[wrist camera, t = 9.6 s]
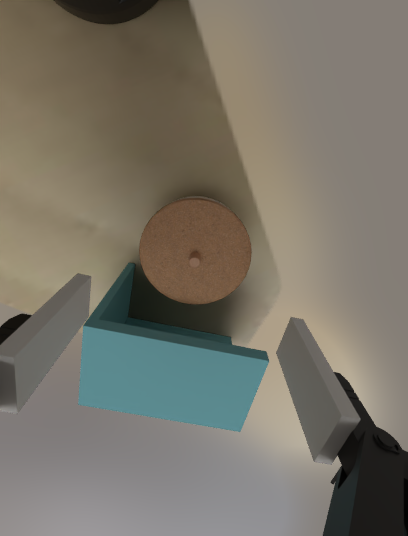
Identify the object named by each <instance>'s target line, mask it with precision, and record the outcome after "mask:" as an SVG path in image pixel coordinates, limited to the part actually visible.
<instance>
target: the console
mask: <svg viewBox="0 0 408 536" xmlns="http://www.w3.org/2000/svg"><path fill="white" fill-rule="evenodd" d="M134 269H135V264H133V263H128V265H127V266H126V267H125V269H124V270H123V271H122V273H121V274H120V276H119V277H118V278H117V280H116V281H115V283H114V284H113V285H112V287H111V288H110V289H109V291H108V292H107V294H106V295H105V296H104V298H103V299H102V301H101V302H100V303H99V305H98V306H97V308H96V309H95V310H94V312H93V313H92V314H91V316H90V317H89V319H88V320H87V321H86V323H85V324H84V326H83V340H82V355H81V372H80V387H79V405H83V406H89V407H95V408H101V409H107V410H113V411H119V412H125V413H131V414H137V415H143V416H149V417H155V418H161V419H166V420H173V421H178V422H184V423H190V424H197V425H202V426H208V427H214V428H221V429H226V430H233V431H238V432H240V431H241V429H242V426H243V424H244V421H245V419H246V417H247V414H248V411H249V409H250V407H251V404H252V402H253V399H254V397H255V395H256V392H257V390H258V387H259V385H260V382H261V380H262V377H263V375H264V372H265V370H266V368H267V365H268V363H269V359H268V356H267V352H266V351H261V350H256V349H250V348H245V347H240V346H235V345H232V341H231V337H227V336H222V335H216V334H211V333H206V332H201V331H196V330H191V329H186V328H180V327H175V326H170V325H165V324H160V323H155V322H150V321H144V320H139V319H134V318H129V317H128V312H129V305H130V298H131V291H132V283H133V276H134Z"/></svg>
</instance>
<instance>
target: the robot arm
mask: <svg viewBox="0 0 408 536" xmlns="http://www.w3.org/2000/svg"><path fill="white" fill-rule="evenodd" d="M54 1H55V2H56V3H57V4H58V5H60V6H61V7H62V8H64V9H65V10H67V11H68V12H70V13H72V14H73V15H75V16H77V17H80V18H82V19H85V20H88V21H91V22H95V23H102V24H114V23H121V22H125V21H128V20H131V19H133V18H135V17H137V16H139V15H141V14H143V13H144V12H146V11H147V10H148V9H149V8H151V7H152V6H153V5H154V4H155V3H156V2H157V1H158V0H54ZM90 288H91V276H88V275H83V274H77V275H75V276H74V277H73V278H72V279H71V280H70V281H69V282H68V283H67V284H66V285H65V286H64V287H62V288H61V289H60V290H59V291H58V292H57V293H56V294H55V295H54V296H53V297H52V298H51V299H49V300H48V301H47V302H46V303H45V304H44V305H43V306H42V307H41V308H40V309H39V310H38V311H37V312H35V313H34V314H33V315H27V314H19V315H17V316H15V317H13V318H11V319H9V320H8V321H6V322H5V323H4V324H3V325H2V326H1V327H0V411H4V412H10V413H16V414H18V413H19V411H20V410H21V408H22V407H23V406H24V404H25V403H26V402H27V400H28V399H29V398H30V396H31V395H32V393H33V392H34V391H35V389H36V388H37V387H38V385H39V384H40V382H41V381H42V380H43V378H44V377H45V376H46V374H47V373H48V371H49V370H50V369H51V367H52V366H53V365H54V363H55V362H56V360H57V359H58V357H59V356H60V355H61V354H62V352H63V351H64V349H65V348H66V347H67V345H68V344H69V343H70V341H71V340H72V339H73V337H74V336H75V334H76V333H77V332H78V330H79V329H80V328H81V326H82V325H83V323H84V322H85V321H86V319H87V318H88V317H89V302H90ZM276 354H277V356H278V359H279V362H280V365H281V368H282V371H283V374H284V377H285V379H286V382H287V385H288V388H289V391H290V394H291V397H292V400H293V403H294V406H295V408H296V411H297V414H298V417H299V420H300V423H301V426H302V429H303V431H304V434H305V437H306V440H307V443H308V446H309V449H310V452H311V454H312V457H313V460H314V462H318V463H325V464H332V463H333V461H334V460H335V458H336V457H337V455H338V457H339V459H340V462H341V464H342V466H341V467H340V469H339V470H338V472H337V473H336V475H335V476H334V478H333V479H332V481H331V483H332V484H334V483H335V486H334V490H333V495H332V499H331V503H330V507H329V512H328V516H327V520H326V524H325V528H324V532H323V536H408V452H406V451H404V450H402V448H401V447H400V445H399V443H398V442H397V441H396V440H395V439H394V438H393V437H392V436H391V435H390V434H388V433H387V432H386V431H384V430H382V429H380V428H378V427H376V425H375V424H374V422H373V421H372V419H371V417H370V416H369V414H368V413H367V411H366V409H365V408H364V406H363V404H362V403H361V401H359V398H358V397H357V395H356V393H354V390H353V388H352V387H351V385H350V383H349V382H348V381H347V380H346V379H345V378H344V377H343V376H342V375H341V374H340V373H336V372H333V370H332V369H331V367H330V365H329V363H328V362H327V360H326V358H325V357H324V355H323V353H322V351H321V350H320V348H319V346H318V344H317V343H316V341H315V339H314V337H313V336H312V334H311V332H310V331H309V329H308V327H307V325H306V324H305V322H304V320H303V319H298V318H293V317H291V318H290V321H289V323H288V326H287V328H286V330H285V333H284V335H283V338H282V340H281V343H280V345H279V347H278V350H277V352H276ZM335 481H336V482H335Z"/></svg>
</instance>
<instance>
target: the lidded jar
mask: <svg viewBox="0 0 408 536" xmlns="http://www.w3.org/2000/svg"><path fill="white" fill-rule="evenodd" d="M139 254H140V261H141V265H142V268H143V271H144V273H145V275H146V277H147V278H148V280H149V281H150V282H151V284H152V285H153V286H154V287H155V288H156V289H157V290H158V291H159V292H161V293H162V294H164V295H165V296H167V297H168V298H171V299H173V300H175V301H178V302H181V303H186V304H207V303H211V302H215V301H217V300H220V299H222V298H224V297H226V296H227V295H229V294H230V293H231V292H233V291H234V290H235V289H236V288H237V287H238V286H239V285H240V284H241V282H242V281H243V279H244V278H245V276H246V274H247V272H248V269H249V266H250V262H251V243H250V239H249V236H248V233H247V231H246V229H245V227H244V225H243V224H242V222H241V221H240V219H239V218H238V217H237V216H236V215H235V214H234V213H233V212H232V211H231V209H229V208H228V207H227V206H225V205H224V204H222V203H220V202H219V201H217V200H214V199H211V198H208V197H203V196H190V197H184V198H181V199H177V200H175V201H173V202H171V203H169V204H168V205H166V206H164V207H163V208H162V209H160V210H159V211H158V212H157V213H156V214H155V215H154V216H153V217H152V218H151V219H150V221H149V222H148V223H147V225H146V227H145V229H144V231H143V233H142V236H141V240H140V248H139Z"/></svg>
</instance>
